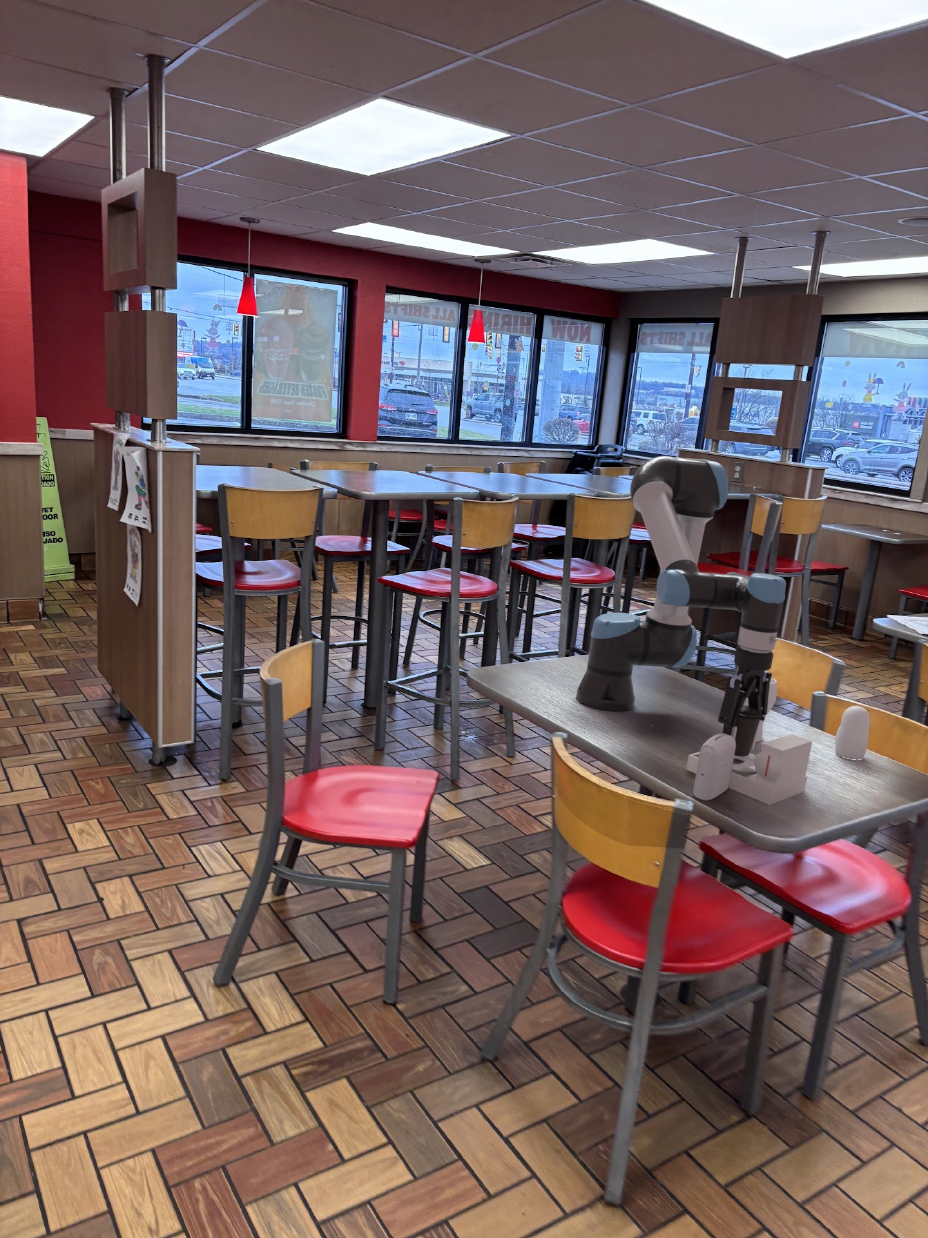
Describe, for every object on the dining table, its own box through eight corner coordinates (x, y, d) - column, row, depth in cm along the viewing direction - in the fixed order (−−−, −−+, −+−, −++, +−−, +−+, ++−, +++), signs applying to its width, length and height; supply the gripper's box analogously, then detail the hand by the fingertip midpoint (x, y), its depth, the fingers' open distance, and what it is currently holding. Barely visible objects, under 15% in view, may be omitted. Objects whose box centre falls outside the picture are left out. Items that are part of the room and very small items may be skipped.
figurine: (863, 753, 219) (873, 706, 216) (866, 763, 212) (876, 715, 209) (832, 747, 221) (841, 700, 218) (834, 757, 214) (844, 709, 211)
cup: (770, 747, 216) (782, 687, 213) (725, 740, 218) (735, 680, 215) (765, 733, 226) (776, 675, 223) (721, 726, 228) (732, 669, 225)
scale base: (686, 769, 196) (694, 719, 193) (722, 758, 205) (730, 710, 202) (773, 806, 181) (783, 753, 178) (807, 792, 190) (818, 741, 188)
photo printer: (709, 803, 179) (719, 744, 176) (689, 795, 182) (699, 737, 179) (730, 790, 187) (741, 733, 184) (711, 783, 190) (721, 727, 187)
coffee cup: (735, 760, 189) (744, 715, 187) (708, 746, 196) (716, 702, 193) (764, 757, 193) (772, 712, 190) (736, 743, 200) (744, 700, 197)
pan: (693, 767, 195) (695, 753, 195) (724, 757, 203) (726, 744, 203) (742, 787, 187) (745, 773, 186) (772, 776, 195) (775, 762, 194)
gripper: (744, 658, 179) (724, 765, 185) (797, 648, 193) (777, 748, 198) (711, 648, 185) (693, 753, 190) (765, 639, 199) (747, 737, 204)
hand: (736, 750), depth 194 cm, fingers closed on coffee cup, 8 cm apart
